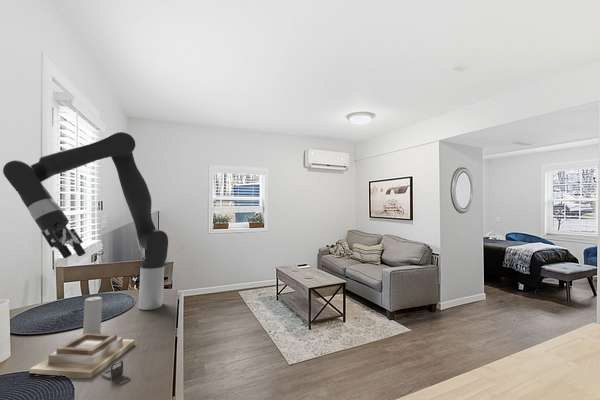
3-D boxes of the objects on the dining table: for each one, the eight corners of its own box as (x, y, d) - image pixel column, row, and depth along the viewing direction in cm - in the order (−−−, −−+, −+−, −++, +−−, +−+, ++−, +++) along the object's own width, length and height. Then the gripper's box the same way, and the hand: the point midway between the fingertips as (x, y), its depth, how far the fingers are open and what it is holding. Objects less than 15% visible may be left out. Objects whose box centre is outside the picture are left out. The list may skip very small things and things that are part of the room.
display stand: (85, 341, 90) (86, 326, 90) (134, 344, 89) (135, 329, 89) (29, 374, 72) (30, 356, 72) (90, 378, 71) (91, 359, 71)
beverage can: (90, 338, 92) (93, 301, 92) (78, 336, 93) (81, 299, 93) (103, 332, 97) (106, 297, 97) (92, 330, 98) (94, 295, 98)
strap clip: (100, 377, 73) (101, 360, 73) (112, 371, 75) (113, 354, 75) (119, 387, 69) (120, 369, 69) (132, 381, 71) (133, 364, 71)
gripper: (46, 207, 88) (75, 250, 89) (71, 211, 102) (97, 248, 103) (21, 220, 87) (50, 264, 87) (50, 222, 100) (76, 260, 101)
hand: (75, 255), depth 95 cm, fingers open, 8 cm apart
